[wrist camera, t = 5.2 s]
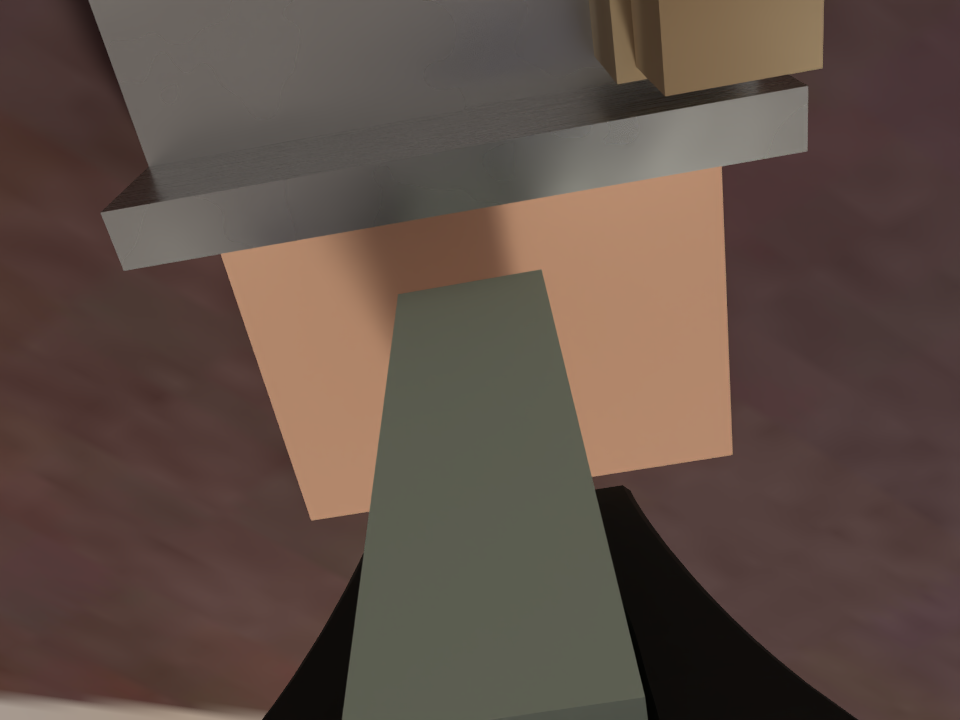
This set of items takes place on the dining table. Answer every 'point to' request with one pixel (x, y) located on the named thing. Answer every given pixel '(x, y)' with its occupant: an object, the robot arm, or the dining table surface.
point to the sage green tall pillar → (486, 527)
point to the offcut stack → (706, 40)
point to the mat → (488, 254)
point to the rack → (392, 117)
